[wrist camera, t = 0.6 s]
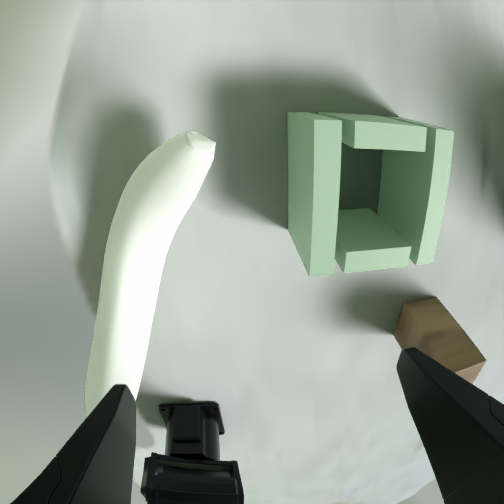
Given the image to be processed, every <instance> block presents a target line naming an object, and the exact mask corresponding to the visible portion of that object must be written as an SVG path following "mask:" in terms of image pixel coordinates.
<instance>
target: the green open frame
mask: <svg viewBox="0 0 504 504" xmlns="http://www.w3.org/2000/svg"><path fill="white" fill-rule="evenodd" d="M287 131H288V231H289V233H290V235H291V238H292V240H293V242H294V244H295V246H296V248H297V251H298V253H299V255H300V257H301V259H302V262H303V264H304V266H305V268H306V270H307V273H308V275H309V277H314V276H324V275H333V267H334V258H335V260H336V261H337V263H338V265H339V266H340V268H341V269H342V271H343V273H353V272H362V271H371V270H380V269H389V268H397V267H406V266H408V261H409V258H410V259H411V260H412V261H413V262H414V264H415V265H422V264H430V263H433V260H434V256H435V251H436V247H437V243H438V238H439V234H440V229H441V224H442V219H443V213H444V208H445V202H446V196H447V190H448V183H449V176H450V168H451V160H452V150H453V139H454V131H451V130H448V129H444V128H441V127H437V126H433V125H429V124H425V123H421V122H417V121H413V120H409V119H404V118H400V117H390V116H384V117H382V116H377V115H367V114H352V113H329V112H318V114H314V113H310V112H287ZM341 142H342V143H344V144H346V145H348V146H350V147H352V148H358V149H383V152H382V167H381V179H380V190H379V200H378V209H377V214H376V213H375V212H374V211H372V210H371V209H370V208H363V209H340V210H338V208H339V192H340V171H341Z"/></svg>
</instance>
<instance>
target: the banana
mask: <svg viewBox="0 0 504 504" xmlns="http://www.w3.org/2000/svg"><path fill="white" fill-rule="evenodd" d="M215 145H216V143H215V142H214V141H212V140H210V139H209V138H207V137H206V136H204V135H201V134H199V133H197V132H196V131H186V132H183V133H180V134H178V135H176V136H175V137H173V138H171V139H169V140H168V141H166V142H164V143H163V144H161V145H160V146H159V147H158V148H156V149H155V150H154V151H152V152H151V153H150V154H149V155H148V156H147V157H146V158H145V159H144V160H143V161H142V162H141V163H140V164H139V166H138V167H137V168H136V170H135V171H134V172H133V174H132V176H131V177H130V179H129V180H128V182H127V184H126V186H125V188H124V190H123V193H122V195H121V197H120V200H119V203H118V206H117V209H116V211H115V214H114V217H113V221H112V224H111V227H110V231H109V235H108V239H107V244H106V249H105V255H104V263H103V270H102V278H101V287H100V295H99V302H98V309H97V316H96V322H95V329H94V335H93V341H92V346H91V351H90V356H89V362H88V367H87V372H86V378H85V393H84V397H85V411H86V418H87V417H88V415H89V414H90V413H91V412H92V411H93V409H94V408H95V407H96V406H97V405H98V403H99V402H100V401H101V400H102V398H103V397H104V396H105V395H106V394H107V392H108V391H109V390H110V389H111V388H112V386H113V385H115V384H126V385H127V386H128V387H129V389H130V391H131V393H132V395H133V396H134V398H135V401H136V398H137V395H138V391H139V387H140V382H141V378H142V373H143V368H144V364H145V359H146V354H147V349H148V344H149V338H150V332H151V326H152V321H153V316H154V311H155V306H156V301H157V295H158V290H159V285H160V280H161V275H162V270H163V266H164V262H165V259H166V255H167V252H168V249H169V246H170V243H171V241H172V238H173V236H174V234H175V231H176V229H177V227H178V225H179V224H180V222H181V220H182V218H183V217H184V215H185V213H186V212H187V210H188V209H189V207H190V206H191V204H192V202H193V201H194V199H195V197H196V196H197V194H198V192H199V190H200V187H201V185H202V183H203V181H204V179H205V177H206V175H207V173H208V171H209V169H210V166H211V164H212V162H213V159H214V152H215Z"/></svg>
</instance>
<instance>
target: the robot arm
mask: <svg viewBox="0 0 504 504" xmlns="http://www.w3.org/2000/svg"><path fill="white" fill-rule="evenodd" d="M397 372H398V376H399V379H400V382H401V385H402V388H403V392H404V395H405V399H406V402H407V405H408V408H409V410H410V413H411V415H412V418H413V420H414V423H415V425H416V427H417V430H418V432H419V435H420V437H421V440H422V442H423V445H424V448H425V450H426V453H427V455H428V458H429V461H430V463H431V466H432V469H433V471H434V474H435V477H436V479H437V482H438V485H439V488H440V491H441V494H442V497H443V499H444V503H445V504H504V404H502V403H501V402H499V401H497V400H496V399H494V398H493V397H491V396H488V394H487V393H485V392H484V391H482V390H480V389H479V388H477V387H476V386H474V385H473V384H471V383H470V382H468V381H467V380H465V379H464V378H462V377H461V376H459V375H457V374H456V373H454V372H453V371H451V370H450V369H448V368H447V367H445V366H444V365H442V364H441V363H439V362H437V361H436V360H434V359H433V358H431V357H430V356H428V355H427V354H425V353H424V352H422V351H420V350H419V349H417V348H416V347H413V346H411V347H407V348H404V349H403V350H402V351H401V354H400V357H399V360H398V363H397ZM159 411H160V413H161V416H162V418H163V420H164V422H165V424H166V426H167V434H166V447H165V455H161V454H157V453H153V452H152V454H151V457H148V458H145V463H144V472H143V478H142V484H141V494H142V495H143V496H144V497H145V498H146V501H147V504H244V493H243V487H242V482H241V478H240V473H239V469H238V464H237V461H220V449H219V435H222V434H224V433H225V430H224V426H223V421H222V417H221V412H220V408H219V405H218V404H216V403H207V404H162V405H159ZM135 447H136V401H135V398H134V396H133V395H132V393H131V391H130V389H129V387H128V386H127V385H126V384H115V385H113V386H112V388H111V389H110V390H109V391H108V392H107V394H106V395H105V396H104V397H103V398H102V400H101V401H100V402H99V403H98V405H97V406H96V407H95V408H94V409H93V411H92V412H91V413H90V414H89V415H88V417H87V418H86V419H85V420H84V422H83V423H82V424H81V426H79V428H78V429H77V430H76V431H75V433H74V434H73V435H72V436H71V437H70V439H69V440H68V441H67V442H66V444H65V445H64V446H63V447H62V449H61V450H60V451H59V452H58V454H57V455H56V457H54V459H53V460H52V461H51V462H50V463H49V465H48V466H47V467H46V468H45V469H44V470H43V472H42V473H41V474H40V475H39V476H38V477H37V478H36V479H35V480H34V481H33V482H32V483H31V484H30V485H29V486H28V487H27V488H26V489H25V490H24V491H23V492H22V493H21V494H20V495H19V496H18V497H17V498H16V499H15V500H14V501H13V502H12V503H10V504H131V490H132V478H133V467H134V457H135ZM156 474H157V475H156Z"/></svg>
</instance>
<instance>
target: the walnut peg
mask: <svg viewBox="0 0 504 504" xmlns="http://www.w3.org/2000/svg"><path fill="white" fill-rule="evenodd" d="M394 337H395V338H396V340H397V342H398V343H399V345H400V347H401V348H402V350H403V349H404V348H407V347H411V346H413V347H416V348H417V349H419V350H420V351H422V352H424V353H425V354H427V355H428V356H430V357H431V358H433V359H434V360H436V361H437V362H439V363H441V364H442V365H444V366H445V367H447V368H448V369H450V370H451V371H453V372H454V373H456V374H457V375H459V376H461V377H462V378H464V379H465V380H467V381H468V382H470V383H471V384H473V382H474V380H475V379H476V377H477V376H478V374H479V372H480V371H481V369H482V367H483V365H484V364H485V362H486V359H485V358H484V356H483V355H482V354H481V352H480V351H479V350H478V348H477V347H476V346H475V344H474V343H473V342H472V340H471V339H470V338H469V337H468V335H467V334H466V333H465V331H464V330H463V329H462V328H461V326H460V325H459V324H458V323H457V321H456V320H455V319H454V318H453V316H452V315H451V314H450V313H449V312H448V310H447V309H446V308H445V307H444V306H443V304H442V303H441V302H440V301H439V300H438V298H437V297H434V298H429V299H423V300H418V301H412V302H406V303H403V305H402V309H401V312H400V316H399V319H398V323H397V326H396V329H395V332H394Z"/></svg>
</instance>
